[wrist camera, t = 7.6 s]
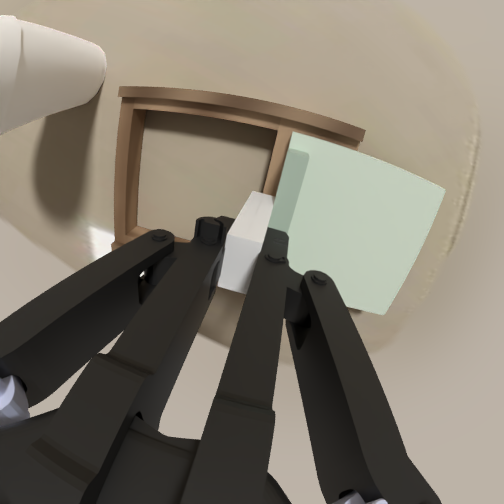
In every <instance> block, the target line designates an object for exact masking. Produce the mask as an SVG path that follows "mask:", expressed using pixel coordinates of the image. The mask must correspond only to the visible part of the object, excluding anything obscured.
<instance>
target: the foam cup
mask: <svg viewBox="0 0 504 504" xmlns="http://www.w3.org/2000/svg"><path fill="white" fill-rule="evenodd" d="M106 68H107V63H106V57H105V53H104V51H103V50H102V49H101V48H100V47H99V46H98V45H95V44H94V43H91V42H89V41H86V40H84V39H81V38H78V37H75V36H73V35H70V34H67V33H64V32H61V31H58V30H55V29H51V28H48V27H45V26H41V25H38V24H34V23H30V22H26V21H22V20H18V19H16V17H15V16H7V15H5V16H4V15H0V135H1V134H4V133H6V132H8V131H10V130H12V129H15V128H17V127H19V126H22V125H24V124H27V123H29V122H32V121H34V120H37V119H40V118H43V117H45V116H48V115H51V114H54V113H57V112H60V111H63V110H67V109H70V108H73V107H76V106H79V105H83V104H86V103H88V102H89V101H90V100H91V99H92V98H93V97H94V96H95V95H96V94H97V92H98V90H99V89H100V87H101V85H102V83H103V81H104V77H105V72H106Z"/></svg>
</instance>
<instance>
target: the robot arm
mask: <svg viewBox="0 0 504 504" xmlns="http://www.w3.org/2000/svg"><path fill="white" fill-rule="evenodd" d="M275 198H276V197H274V196H271V195H267V194H263V193H259V192H255V191H252V193H251V195H250V196H249V198H248V200H247V201H246V203H245V205H244V206H243V208H242V210H241V211H240V213H239V215H238V216H237V218H236V219H233V218H229V217H225V216H220V217H218V218H214V217H201V218H198V219H197V220H196V225H195V233H194V238H193V239H192V240H191V241H190V242H188V243H186V242H174V241H175V236H174V235H173V234H172V233H171V232H169V231H166V230H163V229H162V230H161V229H157V230H152V231H149V232H147V233H145V234H143V235H141V236H139V237H137V238H135V239H133V240H132V241H130V242H128V243H126V244H124V245H122V246H121V247H119V248H117V249H115V250H113V251H112V252H110V253H108V254H106V255H105V256H103V257H101V258H99V259H98V260H96V261H94V262H92V263H91V264H89V265H87V266H86V267H84V268H82V269H81V270H79V271H77V272H76V273H74V274H72V275H71V276H69V277H67V278H66V279H64V280H63V281H61V282H59V283H58V284H56V285H55V286H53V287H51V288H50V289H49V290H47V291H45V292H44V293H42V294H41V295H39V296H38V297H36V298H34V299H33V300H31V301H30V302H29V303H27V304H26V305H24V306H23V307H21V308H20V309H18V310H17V311H15V312H14V313H12V314H11V315H10V316H8V317H7V318H6V319H4V320H3V321H1V322H0V504H292V503H291V502H290V501H289V499H288V498H287V496H286V495H285V493H284V492H283V490H282V488H281V487H280V486H279V484H278V483H277V481H276V480H275V479H274V478H273V477H272V476H271V475H270V474H269V473H268V472H267V470H268V464H269V457H270V452H271V446H272V439H273V433H274V426H275V411H273V410H272V402H273V396H274V389H275V381H276V374H277V367H278V359H279V351H280V343H281V335H282V326H283V318H285V319H286V329H287V333H288V337H289V342H290V346H291V351H292V356H293V360H294V365H295V369H296V374H297V378H298V383H299V388H300V393H301V397H302V402H303V407H304V412H305V416H306V421H307V426H308V431H309V436H310V441H311V446H312V451H313V456H314V461H315V466H316V471H317V476H318V480H319V484H320V488H321V491H322V494H323V496H324V498H325V501H326V503H327V504H442V503H441V501H440V499H439V498H438V496H437V495H436V493H435V492H434V491H433V489H432V488H431V487H430V486H429V484H428V483H427V482H426V480H425V479H424V477H423V476H422V475H421V473H420V472H419V471H418V469H417V468H416V467H415V465H414V464H413V463H412V461H411V460H410V459H409V457H408V456H407V453H406V450H405V447H404V444H403V441H402V438H401V435H400V433H399V430H398V427H397V424H396V422H395V419H394V416H393V414H392V411H391V409H390V406H389V403H388V401H387V398H386V396H385V394H384V391H383V388H382V386H381V383H380V381H379V379H378V376H377V374H376V371H375V369H374V367H373V364H372V362H371V360H370V358H369V355H368V353H367V351H366V348H365V346H364V344H363V342H362V339H361V337H360V335H359V333H358V331H357V328H356V326H355V324H354V322H353V320H352V318H351V316H350V314H349V311H348V309H347V307H346V305H345V303H344V301H343V299H342V297H341V295H340V293H339V291H338V289H337V287H336V285H335V283H334V281H333V280H332V278H331V277H330V276H328V275H327V274H326V273H323V272H321V271H317V270H309V271H306V272H305V274H304V275H301V274H299V273H297V272H296V271H294V270H293V269H291V268H290V266H289V260H288V258H287V254H288V244H289V243H288V242H289V236H288V235H287V233H286V232H284V231H280V230H277V229H273V228H269V227H268V224H269V221H270V217H271V213H272V209H273V205H274V201H275ZM143 271H144V275H143V276H141V277H140V274H141V273H142V272H143ZM218 280H219V281H218ZM217 282H218V287H222V288H225V289H229V290H232V291H236V292H239V293H243V294H246V298H245V301H244V304H243V308H242V311H241V314H240V317H239V321H238V324H237V327H236V331H235V334H234V337H233V340H232V344H231V347H230V350H229V353H228V357H227V360H226V363H225V367H224V370H223V373H222V376H221V379H220V383H219V386H218V389H217V392H216V395H215V397H214V400H213V403H212V406H211V409H210V412H209V415H208V418H207V421H206V425H205V428H204V431H203V434H202V437H201V440H196V439H185V438H176V437H168V436H165V435H163V434H161V433H160V432H159V431H158V428H159V423H160V418H161V415H162V412H163V410H164V408H165V405H166V403H167V401H168V398H169V396H170V394H171V391H172V389H173V386H174V384H175V382H176V380H177V377H178V375H179V373H180V370H181V368H182V366H183V363H184V361H185V359H186V356H187V354H188V352H189V350H190V347H191V345H192V343H193V341H194V338H195V336H196V334H197V332H198V329H199V327H200V325H201V323H202V320H203V318H204V316H205V314H206V311H207V309H208V307H209V305H210V303H211V300H212V298H213V296H214V294H215V289H216V284H217ZM122 331H123V333H122V334H121V336H120V337H119V339H118V340H117V342H116V343H115V345H114V346H113V348H112V349H111V350H110V352H109V353H107V354H102V353H98V352H100V351H101V350H102V349H103V348H104V347H105V346H106V345H107V344H108V343H110V342H111V341H112V340H113V339H114V338H116V337H117V336H118V335H119V334H120V333H121V332H122ZM97 353H98V354H97ZM90 359H91V360H90ZM89 360H90V361H89ZM88 361H89V363H88V364H87V366H86V367H85V369H84V370H83V372H82V373H81V375H80V376H79V378H78V379H77V381H76V382H75V384H74V385H73V387H72V388H71V390H70V392H69V393H68V395H67V396H66V398H65V399H64V401H63V402H62V404H61V406H60V407H59V408H57V409H54V410H52V411H49V412H46V413H43V414H40V415H37V416H34V417H31V418H30V413H29V412H28V408H30V407H32V406H34V405H36V404H38V403H40V402H41V401H43V400H44V399H46V398H47V397H48V396H50V395H51V394H52V393H53V392H55V391H56V390H57V389H58V388H59V387H60V386H61V385H62V384H64V383H65V382H66V381H67V380H68V379H69V378H70V377H71V376H72V375H73V374H74V373H76V372H77V371H78V370H79V369H80V368H81V367H83V366H84V365H85V364H86V363H87V362H88Z"/></svg>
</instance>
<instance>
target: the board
mask: <svg viewBox="0 0 504 504" xmlns="http://www.w3.org/2000/svg"><path fill="white" fill-rule="evenodd" d="M118 97H122V103H121V110H120V118H119V126H118V136H117V147H116V161H115V182H114V229H115V241H114V242H113V243H112V244H111V247H112V251H113V250H115V249H117V248H119V247H121V246H122V245H124V244H126V243H128V242H130V241H132V240H133V239H135V238H137V237H139V236H141V235H143V234H145V233H147V232H149V231H152V230H149V229H146V228H142V227H139V226H137V204H138V185H139V171H140V159H141V149H142V140H143V132H144V124H145V117H146V110H147V109H148V110H160V111H170V112H179V113H187V114H195V115H202V116H208V117H214V118H220V119H226V120H232V121H237V122H242V123H247V124H252V125H257V126H261V127H265V128H270V129H274V130H278V133H277V137H276V141H275V145H274V149H273V153H272V157H271V162H270V166H269V170H268V174H267V178H266V182H265V186H264V190H263V194H267V195H271V196H274V197H276V194H277V190H278V186H279V182H280V178H281V175H282V171H283V167H284V163H285V159H286V155H287V151H288V148H289V144H290V140H291V137H292V133H293V132H297V133H301V134H304V135H308V136H311V137H315V138H318V139H322V140H325V141H328V142H331V143H334V144H337V145H340V146H343V147H346V148H349V149H352V150H355V151H357V150H358V147H359V143H360V141H361V142H362V141H363V138H364V134H365V131H366V130H364V129H361V128H358V127H356V126H353V125H350V124H347V123H344V122H341V121H338V120H335V119H332V118H329V117H325V116H322V115H319V114H315V113H312V112H308V111H305V110H301V109H297V108H293V107H289V106H285V105H281V104H277V103H272V102H268V101H263V100H258V99H253V98H248V97H242V96H236V95H230V94H223V93H216V92H209V91H200V90H191V89H180V88H165V87H138V86H120V87H119V93H118ZM174 242H186V243H188V242H190V241H189V240H186V239H182V238H178V237H175V241H174ZM218 281H219V280H218ZM216 285H218V282H217V284H216Z"/></svg>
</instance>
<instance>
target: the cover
mask: <svg viewBox="0 0 504 504" xmlns="http://www.w3.org/2000/svg"><path fill="white" fill-rule="evenodd" d="M445 191H446V190H445V189H444V188H442V187H440V186H438V185H436V184H434V183H432V182H430V181H428V180H426V179H424V178H422V177H419V176H417V175H415V174H413V173H411V172H408V171H406V170H404V169H401V168H399V167H397V166H394V165H392V164H389V163H387V162H384V161H382V160H379V159H377V158H374V157H372V156H369V155H366V154H363V153H361V152H358V151H355V150H352V149H349V148H346V147H343V146H340V145H337V144H334V143H331V142H328V141H325V140H322V139H318V138H315V137H311V136H308V135H304V134H301V133H297V132H293V133H292V137H291V140H290V144H289V148H288V151H287V155H286V159H285V163H284V167H283V171H282V175H281V178H280V182H279V186H278V190H277V194H276V198H275V201H274V205H273V209H272V213H271V217H270V221H269V224H268V227H269V228H273V229H277V230H280V231H284V232H286V233H287V235H288V236H289V242H288V243H289V244H288V254H287V258H288V260H289V266H290V268H291V269H293V270H294V271H296V272H297V273H299V274H301V275H304V274H305V272H306V271H309V270H317V271H321V272H323V273H326V274H327V275H328V276H330V277H331V278H332V280H333V281H334V283H335V285H336V287H337V289H338V291H339V293H340V295H341V297H342V299H343V301H344V303H345V305H346V307H350V308H354V309H359V310H363V311H367V312H371V313H376V314H380V315H385V313H386V311H387V310H388V308H389V306H390V305H391V303H392V301H393V300H394V298H395V296H396V295H397V293H398V291H399V289H400V288H401V286H402V284H403V282H404V280H405V279H406V277H407V275H408V273H409V271H410V269H411V267H412V265H413V263H414V262H415V260H416V258H417V256H418V254H419V252H420V249H421V247H422V245H423V243H424V241H425V239H426V237H427V235H428V232H429V230H430V228H431V226H432V223H433V221H434V219H435V216H436V214H437V212H438V209H439V207H440V204H441V202H442V199H443V196H444V194H445Z"/></svg>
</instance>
